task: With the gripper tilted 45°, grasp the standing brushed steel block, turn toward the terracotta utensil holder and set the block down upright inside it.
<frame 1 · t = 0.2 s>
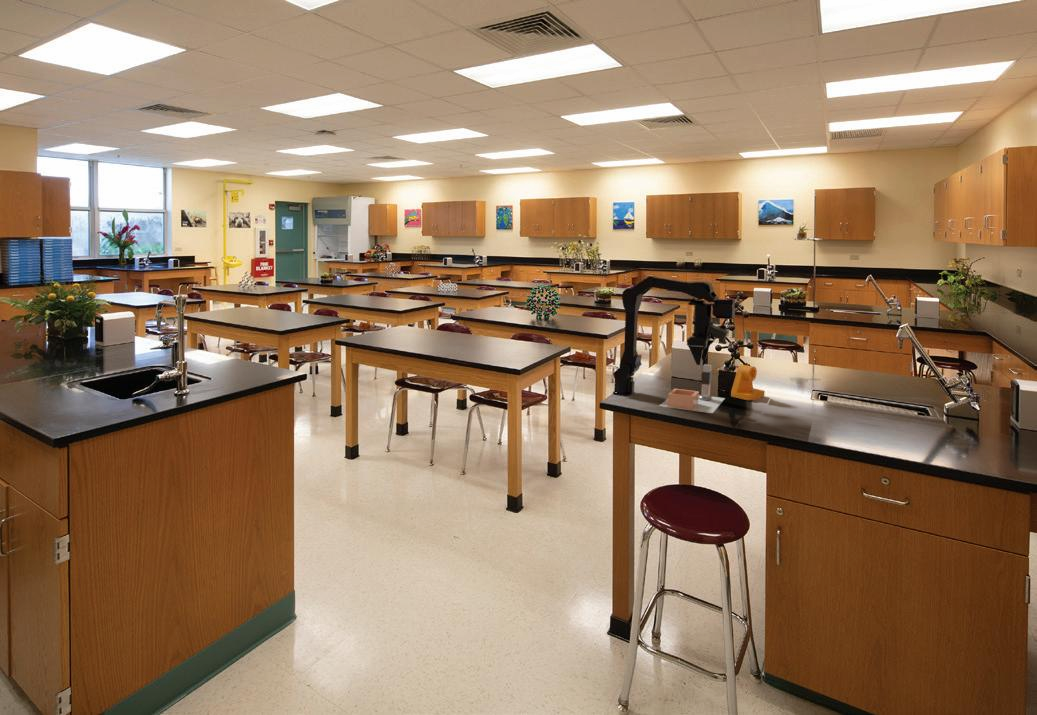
hand: (701, 362, 207), 15 cm above the table, tool pointing down, fingers open, 9 cm apart
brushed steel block: (705, 399, 213), resting on bench mat
bench mat: (692, 403, 209), on the table
holder: (682, 405, 205), resting on bench mat
bracket: (747, 398, 216), on the table
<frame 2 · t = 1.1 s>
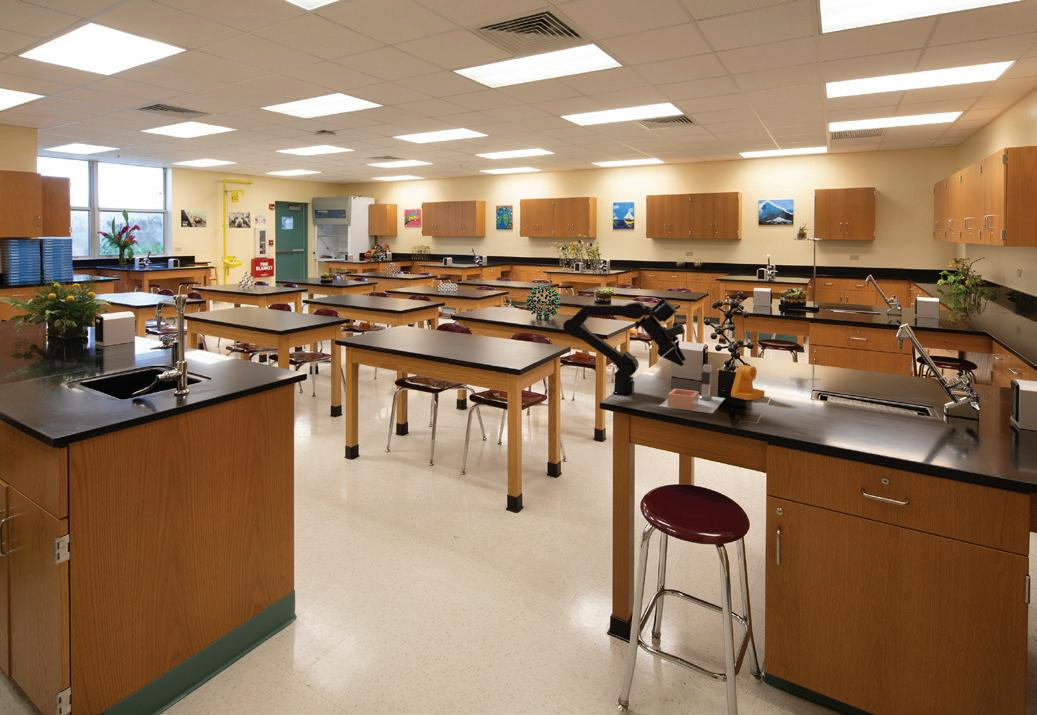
hand: (683, 362, 213), 13 cm above the table, tool tilted 45°, fingers open, 9 cm apart
nothing on the table moved.
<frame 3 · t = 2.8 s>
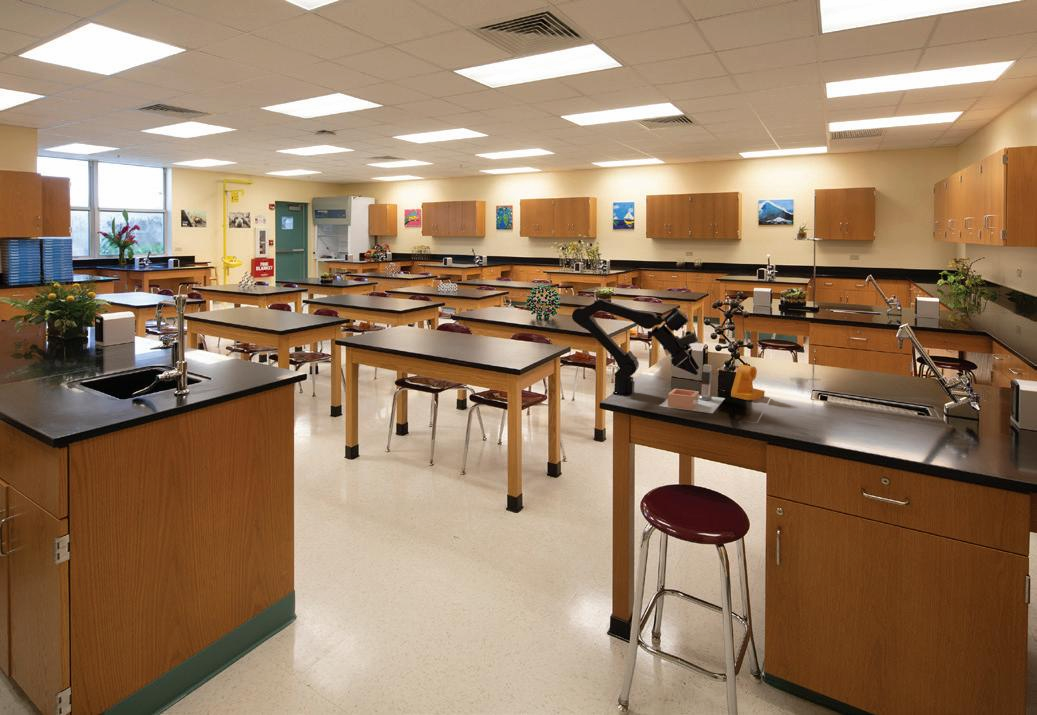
hand: (697, 371, 212), 10 cm above the table, tool tilted 45°, fingers open, 9 cm apart
nothing on the table moved.
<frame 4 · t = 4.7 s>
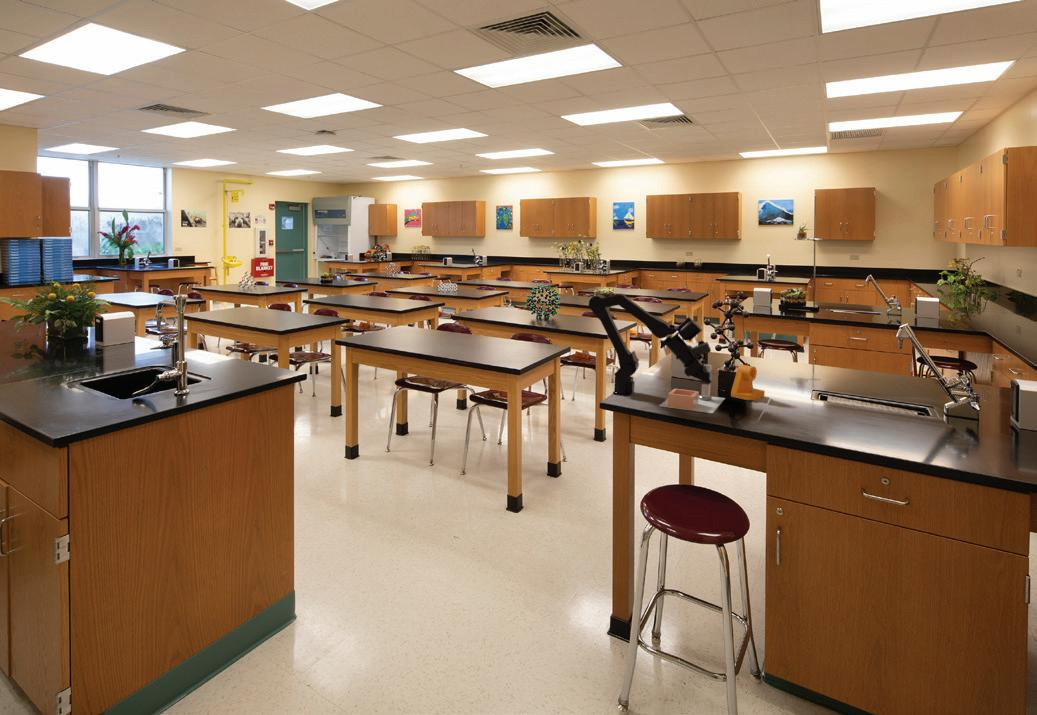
hand: (710, 381, 211), 7 cm above the table, tool tilted 45°, fingers closed on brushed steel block, 4 cm apart
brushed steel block: (705, 399, 213), resting on bench mat, touching gripper
everything else where it was.
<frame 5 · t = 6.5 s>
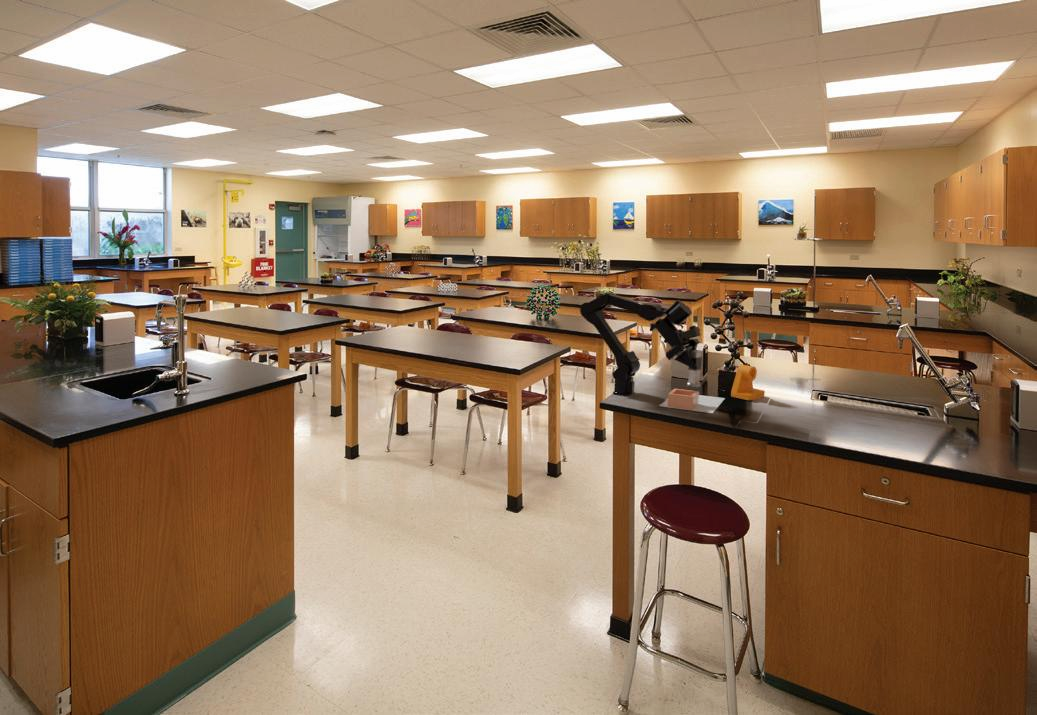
hand: (698, 367, 204), 13 cm above the table, tool tilted 45°, fingers closed on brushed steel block, 4 cm apart
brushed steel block: (693, 385, 206), point 7 cm above the table, touching gripper
everything else where it was.
when the fingers open (8 cm above the table, at t = 8.8 s): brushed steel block stays where it is, resting on holder.
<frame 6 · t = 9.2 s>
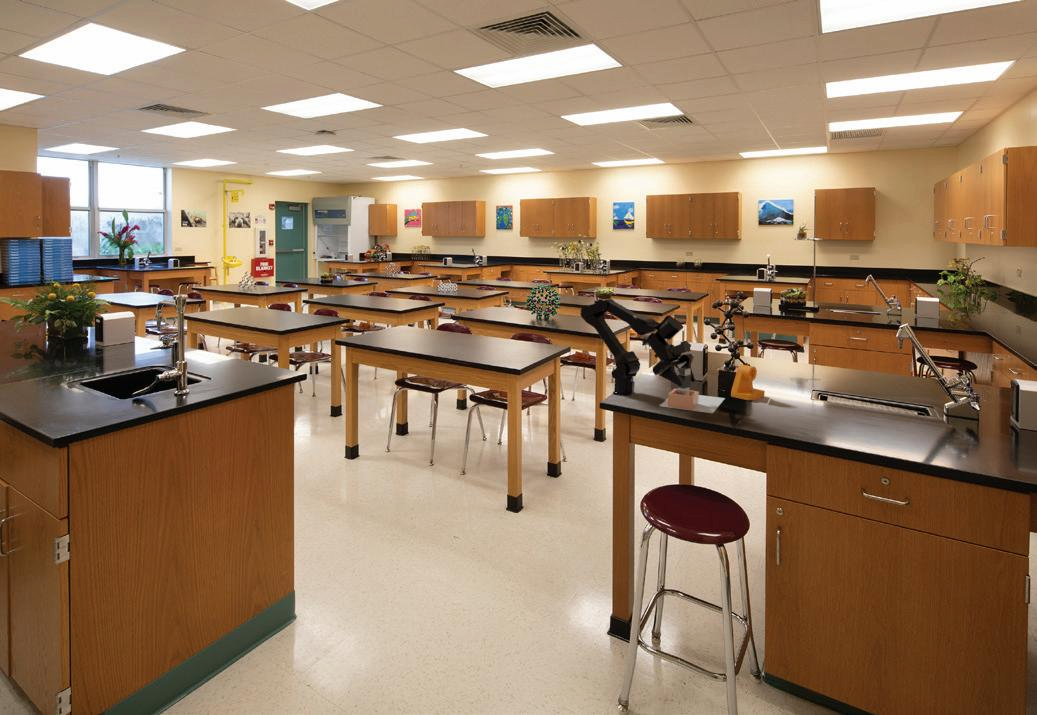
hand: (687, 383, 203), 8 cm above the table, tool tilted 45°, fingers open, 8 cm apart
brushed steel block: (682, 403, 205), point 1 cm above the table, touching holder
everything else where it was.
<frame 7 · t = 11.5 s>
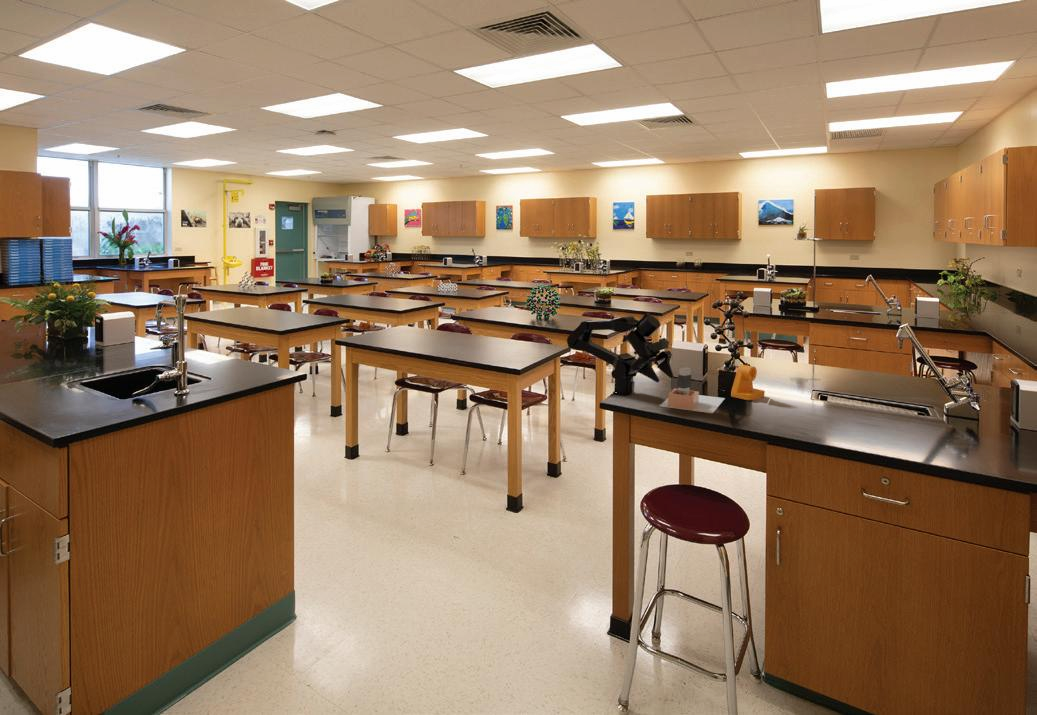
hand: (665, 379, 209), 8 cm above the table, tool tilted 45°, fingers open, 9 cm apart
nothing on the table moved.
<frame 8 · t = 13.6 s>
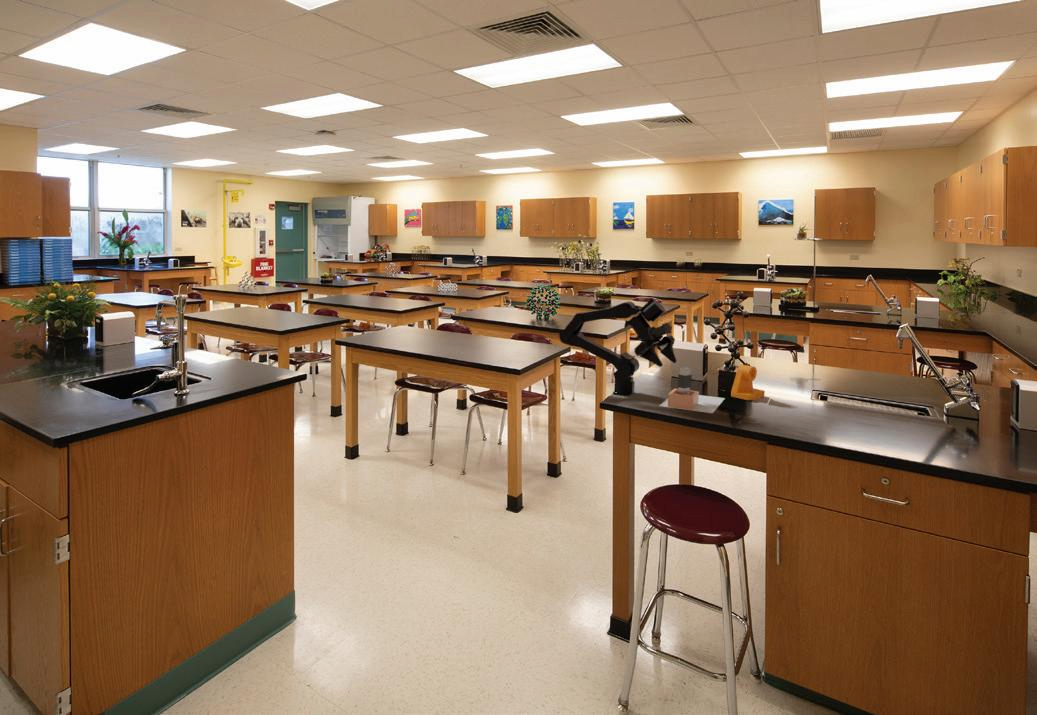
hand: (668, 364, 209), 14 cm above the table, tool tilted 45°, fingers open, 9 cm apart
nothing on the table moved.
at the end: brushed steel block 0.1 cm off-centre on the holder, point 0.5 cm above the holder's base; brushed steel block tilted 1°; the gripper is holding nothing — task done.
